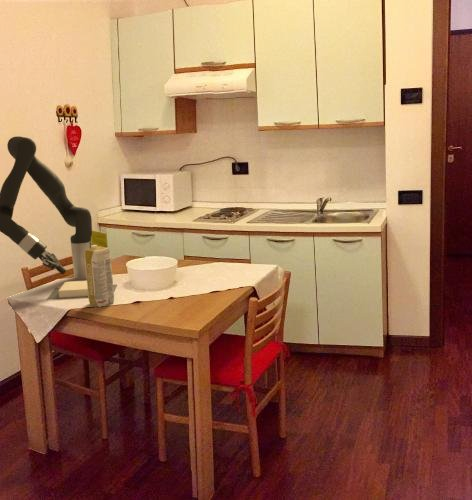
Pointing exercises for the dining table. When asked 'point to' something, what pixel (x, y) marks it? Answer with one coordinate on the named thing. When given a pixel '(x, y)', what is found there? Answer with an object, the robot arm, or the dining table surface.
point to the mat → (56, 295)
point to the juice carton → (99, 275)
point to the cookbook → (73, 289)
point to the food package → (99, 239)
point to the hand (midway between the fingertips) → (64, 272)
